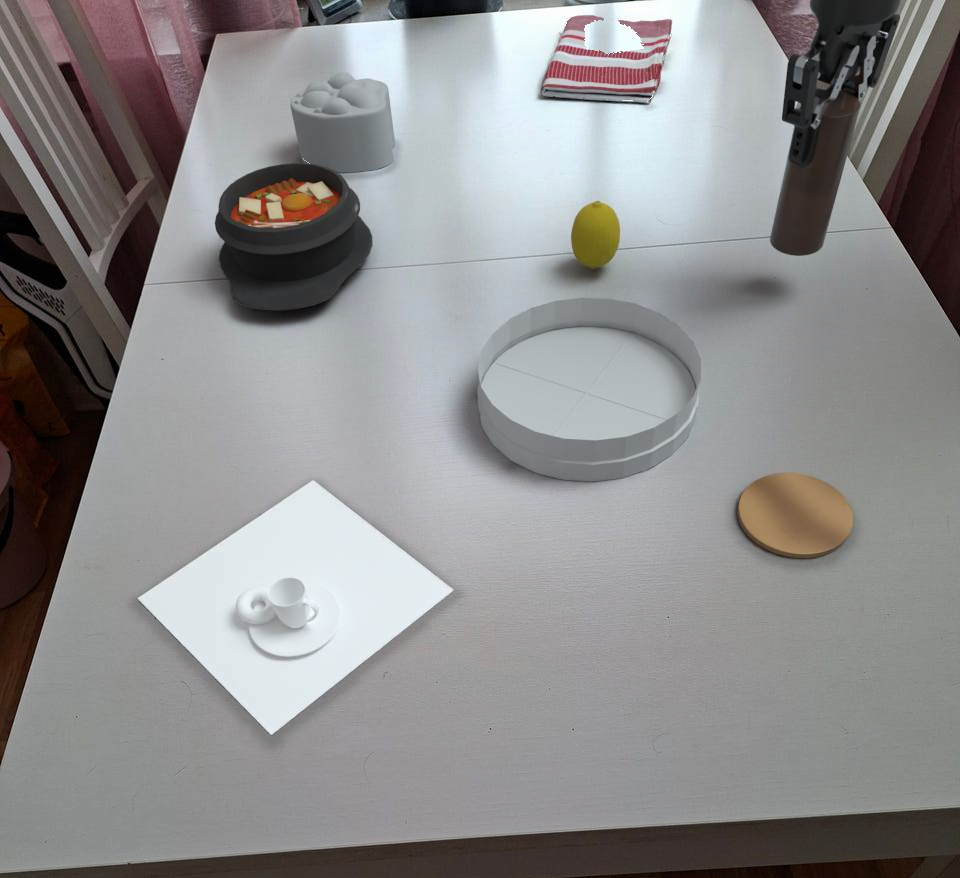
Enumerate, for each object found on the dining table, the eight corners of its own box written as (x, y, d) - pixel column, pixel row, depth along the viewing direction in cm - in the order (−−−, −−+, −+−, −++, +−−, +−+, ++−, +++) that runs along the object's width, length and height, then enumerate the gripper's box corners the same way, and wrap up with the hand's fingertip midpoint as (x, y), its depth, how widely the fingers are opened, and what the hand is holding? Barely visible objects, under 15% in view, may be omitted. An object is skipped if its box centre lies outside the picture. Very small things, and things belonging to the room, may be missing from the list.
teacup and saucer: (226, 618, 77) (212, 588, 74) (299, 566, 80) (288, 536, 77) (287, 676, 73) (275, 648, 70) (361, 619, 76) (353, 590, 73)
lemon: (566, 280, 103) (568, 213, 97) (574, 253, 106) (577, 187, 100) (613, 284, 102) (618, 217, 96) (620, 257, 105) (626, 190, 99)
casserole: (363, 322, 101) (351, 254, 94) (203, 327, 102) (179, 259, 95) (384, 204, 115) (374, 137, 108) (243, 209, 116) (225, 143, 109)
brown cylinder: (790, 221, 98) (822, 84, 87) (834, 240, 96) (872, 101, 84) (759, 242, 96) (787, 105, 85) (802, 262, 94) (837, 123, 82)
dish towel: (672, 35, 139) (674, 15, 137) (654, 105, 126) (656, 85, 124) (566, 31, 142) (566, 12, 140) (538, 99, 129) (538, 79, 127)
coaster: (782, 461, 84) (783, 456, 84) (874, 516, 80) (876, 511, 79) (714, 516, 81) (715, 512, 80) (806, 576, 76) (808, 572, 76)
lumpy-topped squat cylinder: (391, 170, 120) (382, 101, 113) (296, 175, 120) (281, 107, 113) (396, 132, 126) (387, 65, 119) (305, 137, 126) (292, 70, 119)
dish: (730, 373, 92) (739, 332, 88) (640, 511, 82) (645, 472, 78) (541, 316, 99) (541, 275, 95) (437, 436, 89) (432, 396, 85)
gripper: (856, -17, 70) (805, 193, 84) (956, -71, 75) (893, 136, 89) (778, -38, 74) (741, 167, 87) (878, -88, 79) (829, 113, 92)
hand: (818, 150), depth 88 cm, fingers closed on brown cylinder, 5 cm apart
